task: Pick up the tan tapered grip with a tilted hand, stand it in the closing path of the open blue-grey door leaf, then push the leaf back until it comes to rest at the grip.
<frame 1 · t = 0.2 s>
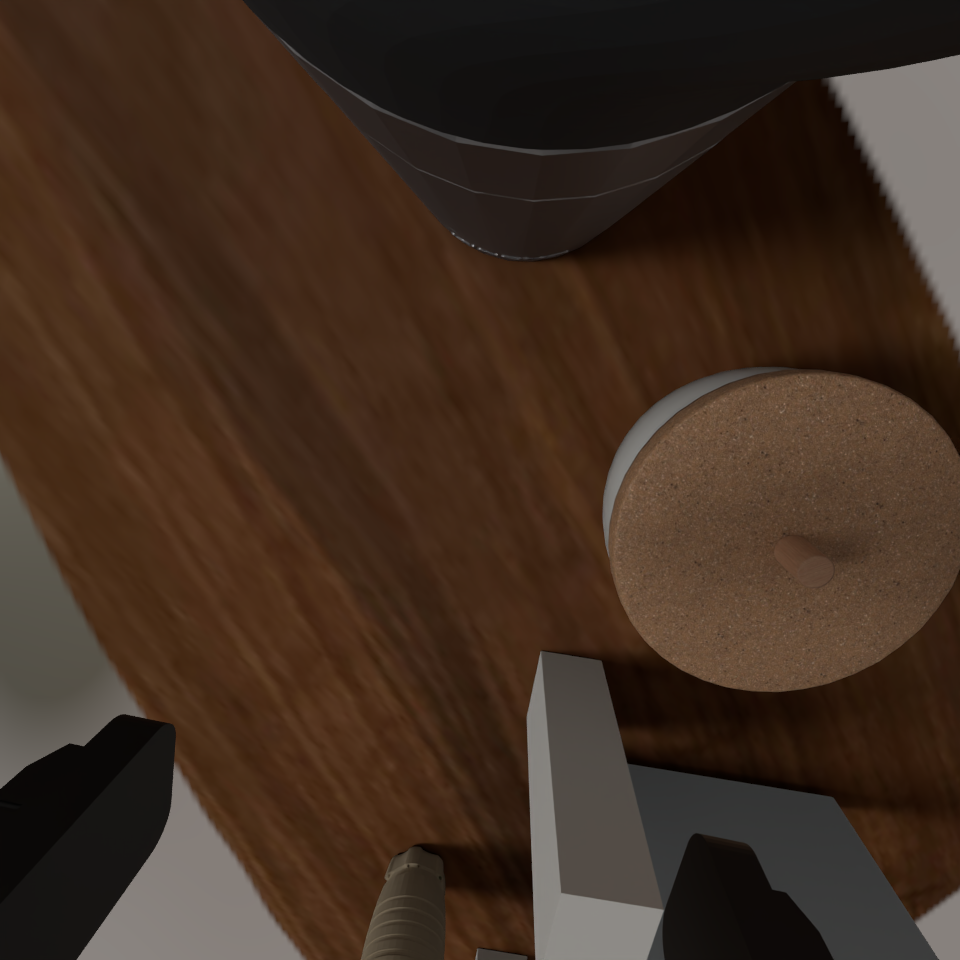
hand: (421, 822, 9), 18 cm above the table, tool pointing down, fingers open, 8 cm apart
doorframe: (548, 753, 30), on the table
door: (718, 887, 24), point 6 cm above the table, hinge at 90.0°
tan tapered grip: (419, 861, 33), on the table
lidded jar: (705, 474, 25), on the table
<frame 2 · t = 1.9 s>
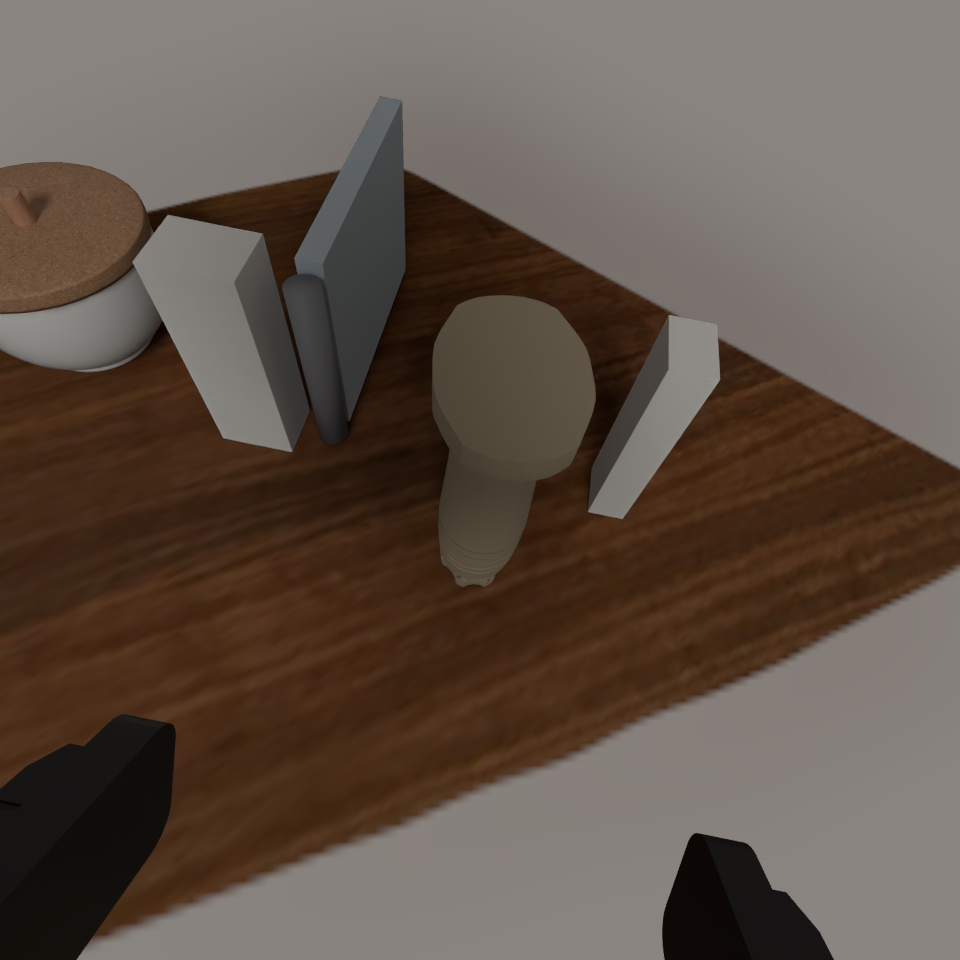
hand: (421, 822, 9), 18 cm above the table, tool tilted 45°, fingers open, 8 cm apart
doorframe: (335, 437, 33), on the table
door: (359, 275, 31), point 6 cm above the table, hinge at 90.0°
tan tapered grip: (471, 562, 30), on the table
lidded jar: (102, 337, 35), on the table
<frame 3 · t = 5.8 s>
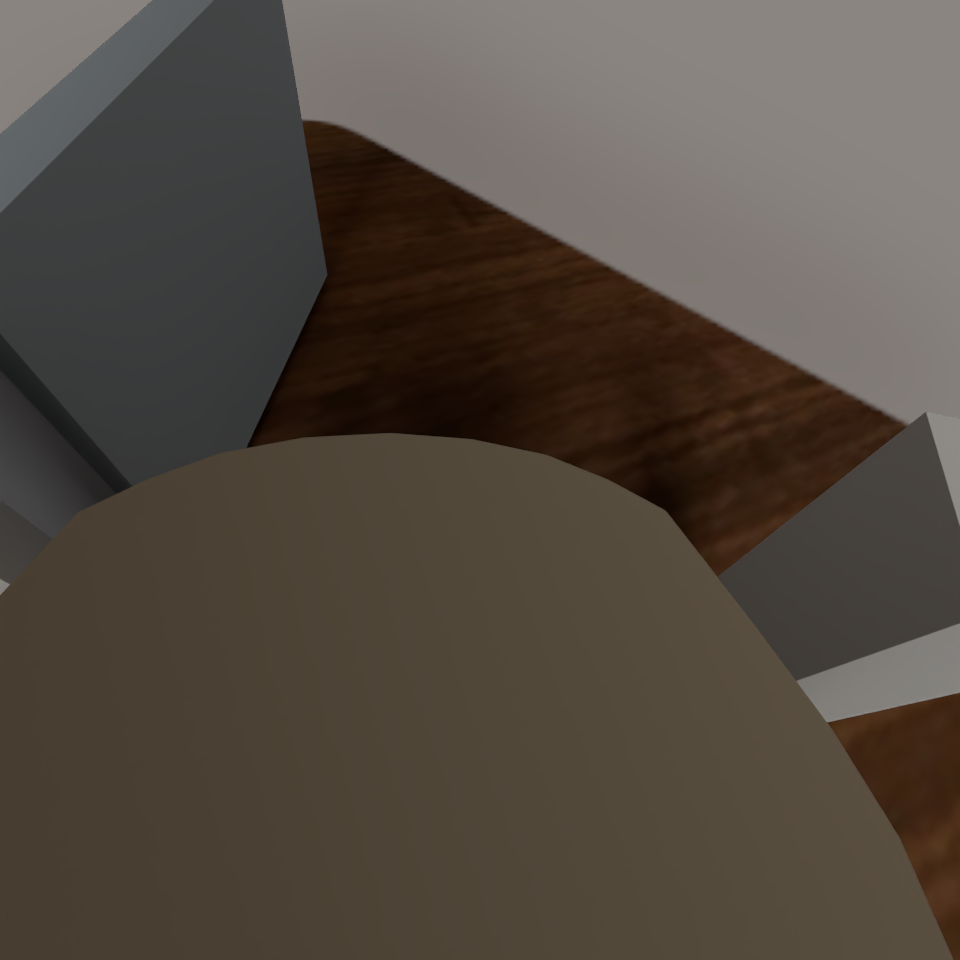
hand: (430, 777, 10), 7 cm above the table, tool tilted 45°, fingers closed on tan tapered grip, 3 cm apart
doorframe: (167, 589, 18), on the table
door: (197, 290, 16), point 6 cm above the table, hinge at 90.0°
tan tapered grip: (412, 869, 15), on the table, touching gripper
when the fingers open (8 cm above the table, at t = 11.7 s): tan tapered grip drops 1 cm, on the table.
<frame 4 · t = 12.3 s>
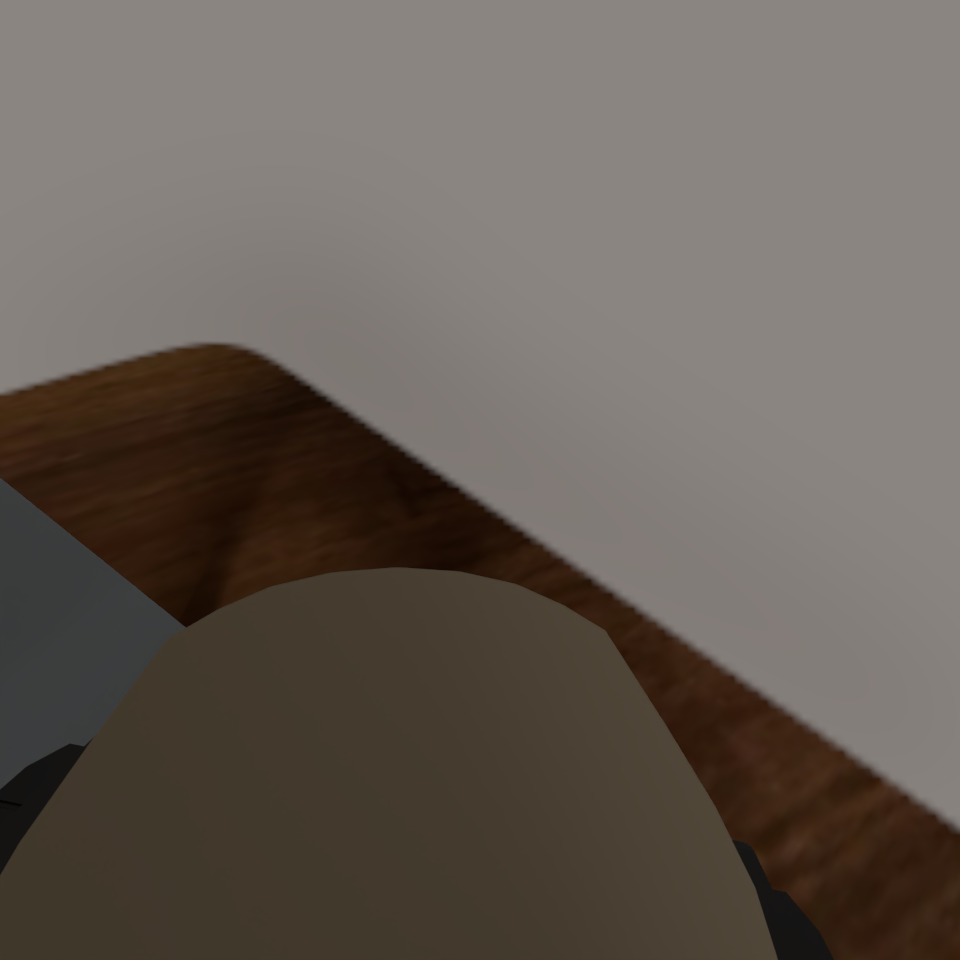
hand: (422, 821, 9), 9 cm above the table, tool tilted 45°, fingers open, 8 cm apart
tan tapered grip: (411, 872, 16), on the table
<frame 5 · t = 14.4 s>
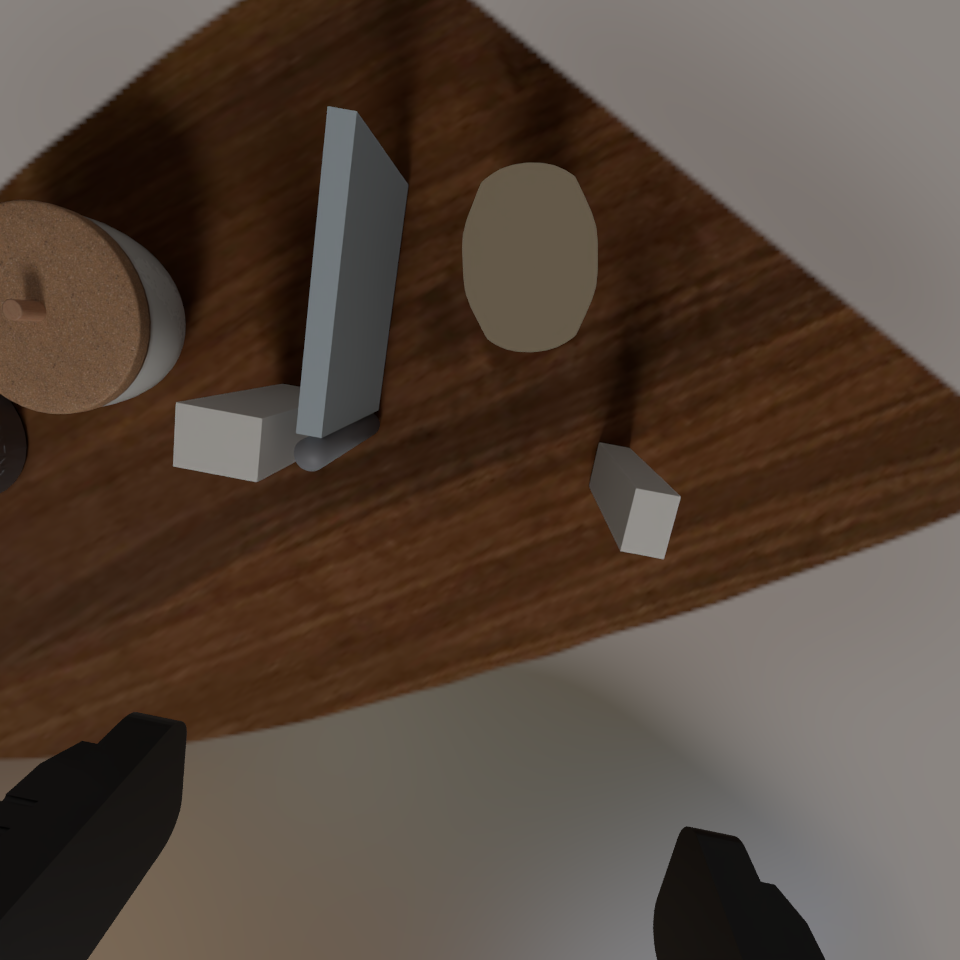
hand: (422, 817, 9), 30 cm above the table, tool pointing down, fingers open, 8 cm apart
doorframe: (369, 422, 38), on the table
door: (356, 311, 30), point 6 cm above the table, hinge at 90.0°
tan tapered grip: (525, 295, 35), on the table
lidded jar: (138, 317, 37), on the table
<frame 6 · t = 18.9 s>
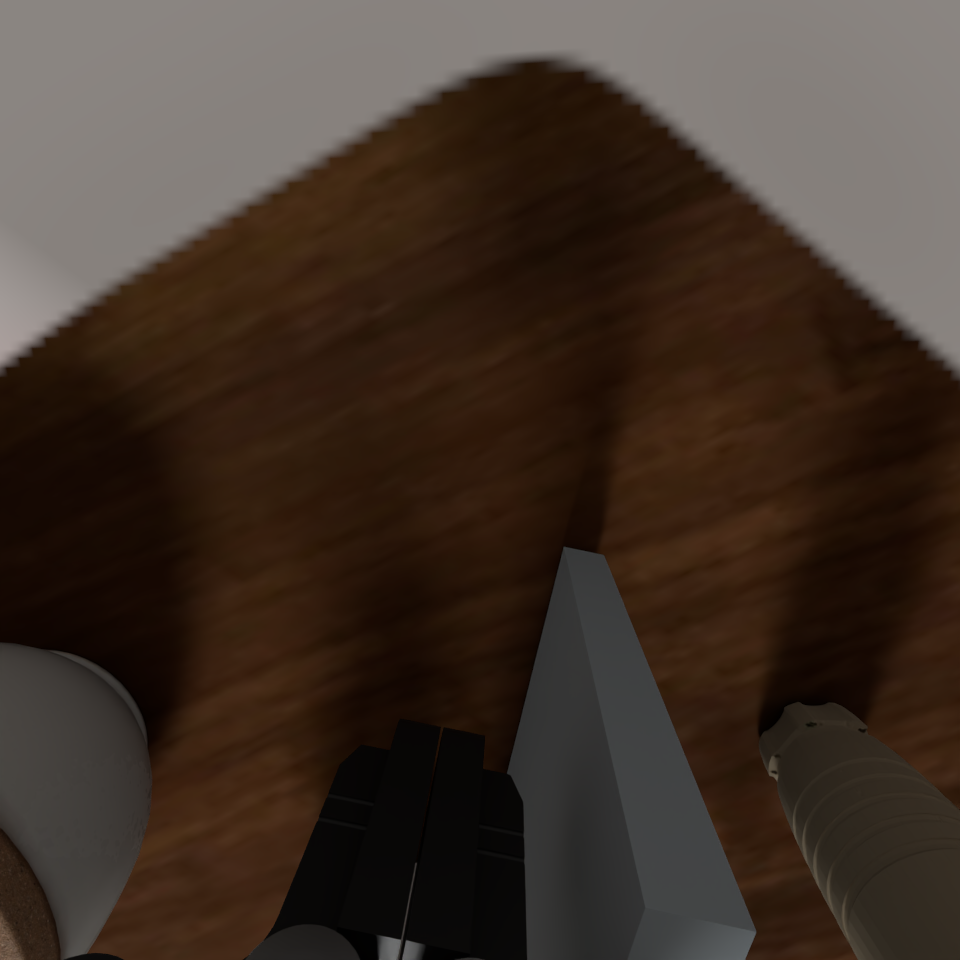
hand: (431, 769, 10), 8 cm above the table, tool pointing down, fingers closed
door: (531, 937, 13), point 6 cm above the table, hinge at 89.8°, touching gripper
tan tapered grip: (803, 734, 18), on the table
lidded jar: (68, 723, 20), on the table
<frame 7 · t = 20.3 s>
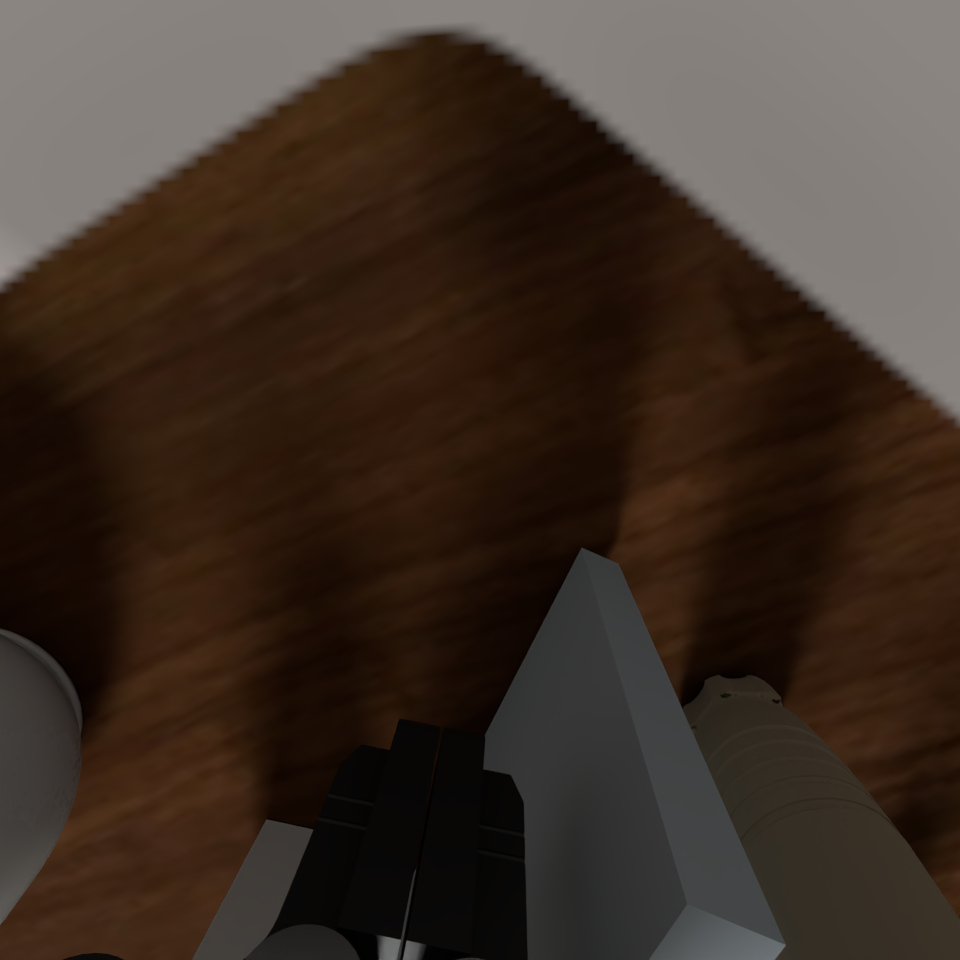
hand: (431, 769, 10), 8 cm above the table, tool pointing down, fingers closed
doorframe: (421, 886, 21), on the table
door: (486, 917, 13), point 6 cm above the table, hinge at 77.4°
tan tapered grip: (726, 707, 19), on the table
lidded jar: (5, 699, 21), on the table
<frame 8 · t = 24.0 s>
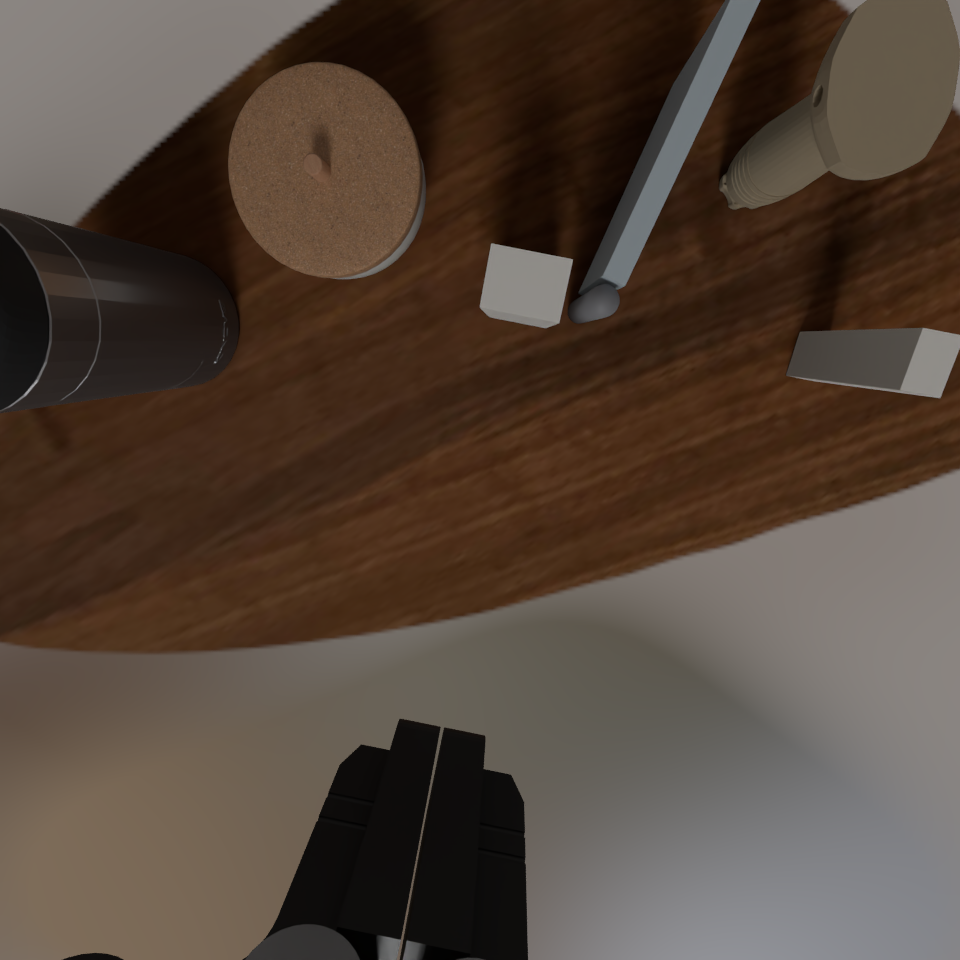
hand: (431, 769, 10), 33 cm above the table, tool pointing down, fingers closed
doorframe: (578, 311, 39), on the table
door: (644, 189, 32), point 6 cm above the table, hinge at 77.4°
tan tapered grip: (741, 185, 37), on the table
lidded jar: (360, 206, 39), on the table
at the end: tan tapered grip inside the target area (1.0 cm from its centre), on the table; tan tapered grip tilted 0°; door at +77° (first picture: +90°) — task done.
